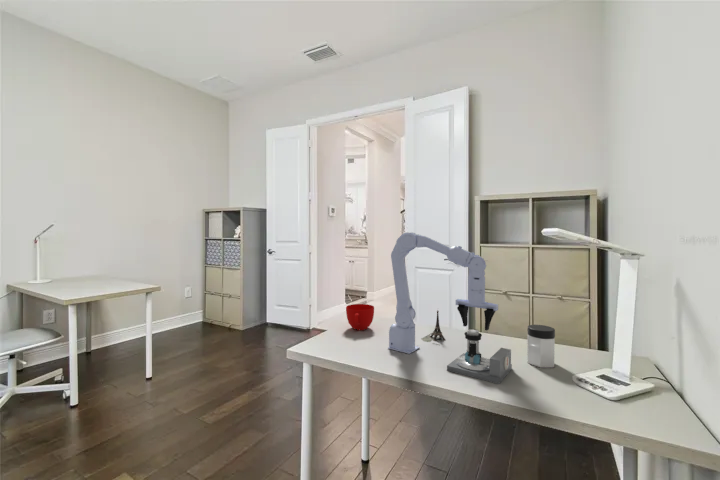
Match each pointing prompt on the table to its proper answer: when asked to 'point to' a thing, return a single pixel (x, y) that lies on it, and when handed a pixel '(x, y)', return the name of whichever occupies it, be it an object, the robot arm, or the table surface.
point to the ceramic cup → (360, 315)
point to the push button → (473, 346)
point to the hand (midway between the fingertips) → (475, 327)
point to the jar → (541, 346)
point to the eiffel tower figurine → (435, 333)
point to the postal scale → (484, 366)
